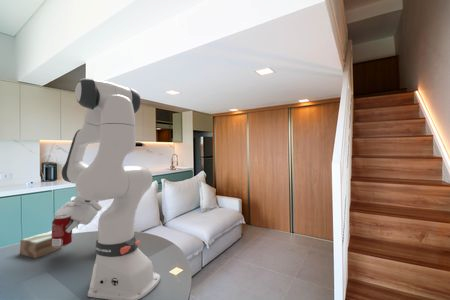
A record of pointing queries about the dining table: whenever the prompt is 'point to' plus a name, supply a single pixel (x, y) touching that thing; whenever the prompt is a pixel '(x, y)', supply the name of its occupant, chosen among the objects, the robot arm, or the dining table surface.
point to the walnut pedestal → (37, 245)
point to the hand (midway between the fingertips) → (60, 230)
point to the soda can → (61, 231)
